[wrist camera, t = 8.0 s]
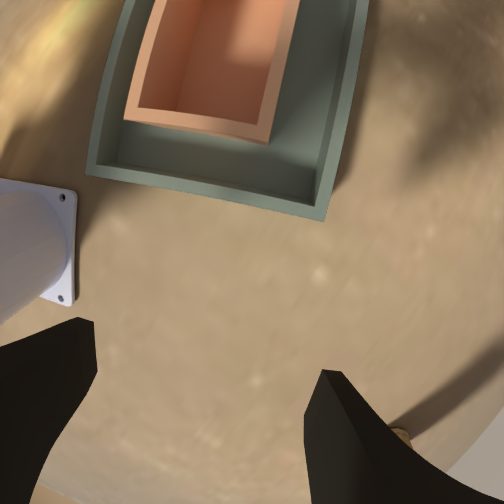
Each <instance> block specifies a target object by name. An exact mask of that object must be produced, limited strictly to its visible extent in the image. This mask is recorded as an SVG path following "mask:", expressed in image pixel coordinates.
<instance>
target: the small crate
mask: <svg viewBox="0 0 504 504" xmlns="http://www.w3.org/2000/svg"><path fill="white" fill-rule="evenodd" d="M299 4H300V0H155V3H154V6H153V9H152V12H151V15H150V18H149V21H148V24H147V27H146V30H145V34H144V37H143V40H142V44H141V47H140V51H139V55H138V58H137V62H136V66H135V70H134V74H133V78H132V82H131V86H130V90H129V95H128V99H127V104H126V109H125V113H124V118H123V119H125V120H130V121H135V122H139V123H144V124H149V125H153V126H157V127H162V128H166V129H173V130H180V131H187V132H193V133H200V134H206V135H211V136H217V137H223V138H228V139H234V140H239V141H244V142H249V143H254V144H259V145H264V146H268V143H269V138H270V134H271V129H272V125H273V120H274V116H275V111H276V107H277V102H278V98H279V93H280V89H281V84H282V80H283V75H284V71H285V66H286V62H287V57H288V53H289V49H290V44H291V40H292V35H293V31H294V26H295V22H296V18H297V13H298V9H299Z"/></svg>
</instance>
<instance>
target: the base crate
mask: <svg viewBox="0 0 504 504" xmlns="http://www.w3.org/2000/svg"><path fill="white" fill-rule="evenodd" d="M154 3H155V0H126V1H125V3H124V6H123V9H122V12H121V15H120V18H119V21H118V24H117V27H116V30H115V33H114V36H113V40H112V43H111V46H110V50H109V54H108V57H107V61H106V65H105V68H104V72H103V76H102V80H101V85H100V89H99V93H98V98H97V103H96V108H95V113H94V118H93V123H92V129H91V134H90V141H89V147H88V154H87V161H86V168H85V175H89V176H95V177H101V178H107V179H113V180H119V181H125V182H131V183H137V184H142V185H148V186H153V187H159V188H164V189H170V190H175V191H180V192H185V193H191V194H196V195H201V196H206V197H211V198H216V199H221V200H226V201H230V202H235V203H240V204H245V205H249V206H254V207H259V208H263V209H268V210H272V211H277V212H281V213H286V214H290V215H295V216H299V217H303V218H308V219H312V220H316V221H320V222H324V220H325V216H326V213H327V209H328V205H329V201H330V197H331V193H332V189H333V184H334V180H335V176H336V172H337V168H338V163H339V159H340V155H341V150H342V146H343V141H344V137H345V132H346V128H347V123H348V118H349V113H350V108H351V103H352V98H353V93H354V88H355V83H356V78H357V72H358V67H359V61H360V56H361V50H362V44H363V38H364V32H365V26H366V19H367V12H368V6H369V0H300V4H299V9H298V13H297V18H296V22H295V26H294V31H293V35H292V40H291V44H290V49H289V53H288V57H287V62H286V66H285V71H284V75H283V80H282V84H281V89H280V93H279V98H278V102H277V107H276V111H275V116H274V120H273V125H272V129H271V134H270V138H269V143H268V146H264V145H259V144H254V143H249V142H244V141H239V140H234V139H228V138H223V137H217V136H211V135H206V134H200V133H193V132H187V131H180V130H173V129H166V128H162V127H157V126H153V125H149V124H144V123H139V122H135V121H130V120H125V119H123V118H124V113H125V109H126V104H127V99H128V95H129V90H130V86H131V82H132V78H133V74H134V70H135V66H136V62H137V58H138V55H139V51H140V47H141V44H142V40H143V37H144V34H145V30H146V27H147V24H148V21H149V18H150V15H151V12H152V9H153V6H154Z"/></svg>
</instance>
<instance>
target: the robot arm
mask: <svg viewBox="0 0 504 504" xmlns="http://www.w3.org/2000/svg"><path fill="white" fill-rule="evenodd" d="M63 194H64V195H65V200H63V197H62V196H63ZM77 200H78V198H77V194H76V192H75V191H73V190H69V189H63V188H57V187H52V186H46V185H40V184H34V183H28V182H22V181H16V180H10V179H4V178H0V325H2V324H3V323H4V322H5V321H7V320H8V319H9V318H11V317H12V316H13V315H14V314H16V313H17V312H18V311H20V310H21V309H22V308H24V307H25V306H26V305H28V304H29V303H30V302H32V301H33V300H34V299H36V298H37V297H42V298H45V299H47V300H50V301H53V302H56V303H58V304H61V305H64V306H67V307H70V306H72V305H73V304H74V302H75V289H74V257H75V229H76V213H77ZM61 296H63V298H64V299H62V297H61ZM97 372H98V370H97V360H96V349H95V335H94V322H93V321H89V320H86V319H83V318H80V317H76V318H73V319H70V320H68V321H65V322H62V323H60V324H57V325H55V326H53V327H50V328H48V329H45V330H43V331H41V332H38V333H36V334H33V335H31V336H28V337H26V338H23V339H21V340H18V341H15V342H12V343H9V344H7V345H4V346H1V347H0V504H29V502H30V499H31V496H32V493H33V490H34V487H35V485H36V482H37V480H38V477H39V475H40V472H41V470H42V468H43V465H44V463H45V461H46V459H47V457H48V454H49V452H50V450H51V448H52V447H53V445H54V443H55V441H56V440H57V438H58V437H59V435H60V434H61V432H62V431H63V429H64V428H65V426H66V425H67V423H68V422H69V420H70V419H71V417H72V416H73V414H74V413H75V411H76V410H77V408H78V407H79V405H80V404H81V402H82V401H83V399H84V398H85V396H86V394H87V392H88V390H89V388H90V386H91V384H92V382H93V380H94V378H95V376H96V374H97ZM304 448H305V455H306V463H307V470H308V478H309V485H310V493H311V502H312V504H504V501H502V500H499V499H496V498H494V497H491V496H488V495H486V494H483V493H481V492H479V491H476V490H474V489H472V488H470V487H468V486H466V485H464V484H462V483H460V482H459V481H457V480H455V479H453V478H452V477H450V476H448V475H447V474H445V473H444V472H442V471H441V470H439V469H438V468H436V467H435V466H433V465H432V464H431V463H429V462H428V461H427V460H425V459H424V458H423V457H421V456H420V455H419V454H418V453H417V452H415V451H414V450H413V449H412V448H410V447H409V446H408V445H407V444H406V443H405V442H404V441H403V440H402V439H400V438H399V437H398V436H397V435H396V434H395V433H394V432H393V431H392V430H391V429H390V428H389V427H388V426H387V425H386V423H385V422H384V421H383V420H382V419H381V418H380V417H379V416H378V415H377V414H376V412H375V411H374V410H373V409H372V408H371V407H370V406H369V404H368V403H367V402H366V401H365V400H364V398H363V397H362V396H361V395H360V394H359V392H358V391H357V390H356V389H355V388H354V386H353V385H352V384H351V383H350V381H349V380H348V379H347V378H346V377H345V375H344V374H343V373H342V372H341V371H333V370H324V369H322V371H321V374H320V376H319V379H318V382H317V384H316V387H315V389H314V392H313V394H312V397H311V399H310V402H309V404H308V407H307V409H306V412H305V414H304Z"/></svg>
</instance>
